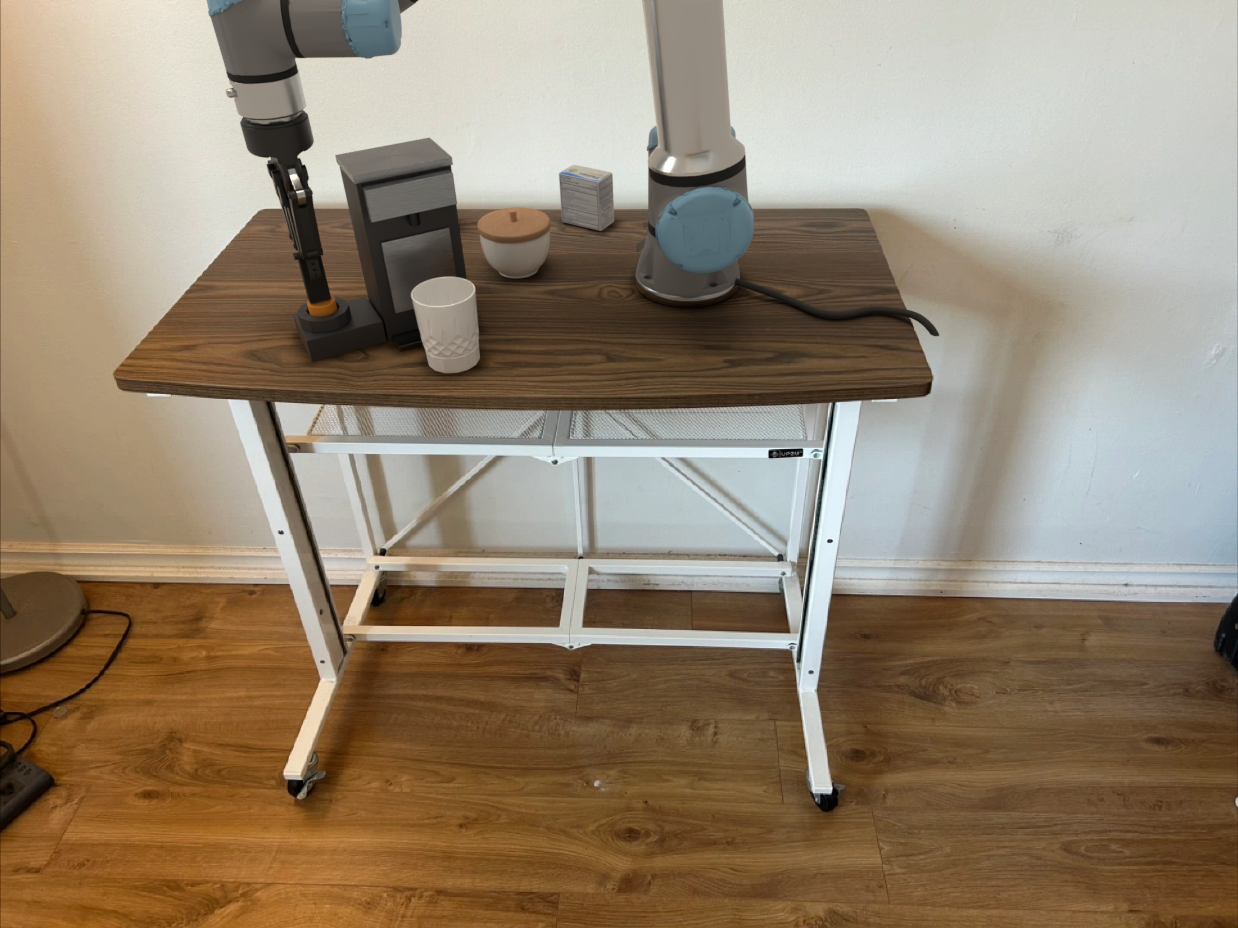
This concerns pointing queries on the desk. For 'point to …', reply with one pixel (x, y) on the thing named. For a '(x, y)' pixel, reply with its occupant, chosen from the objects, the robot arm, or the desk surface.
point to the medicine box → (586, 197)
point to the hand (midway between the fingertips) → (319, 298)
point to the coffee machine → (402, 227)
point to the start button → (322, 307)
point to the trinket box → (515, 240)
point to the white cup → (448, 323)
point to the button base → (339, 328)
